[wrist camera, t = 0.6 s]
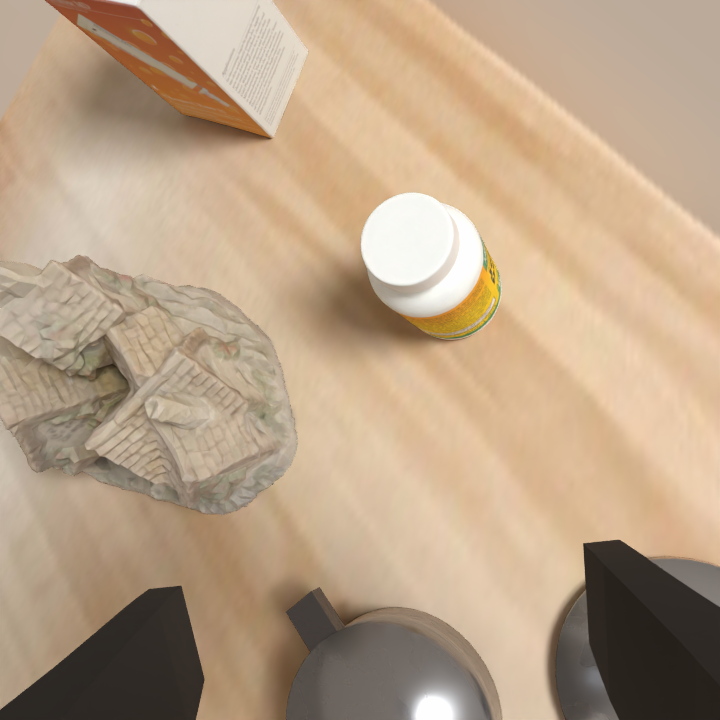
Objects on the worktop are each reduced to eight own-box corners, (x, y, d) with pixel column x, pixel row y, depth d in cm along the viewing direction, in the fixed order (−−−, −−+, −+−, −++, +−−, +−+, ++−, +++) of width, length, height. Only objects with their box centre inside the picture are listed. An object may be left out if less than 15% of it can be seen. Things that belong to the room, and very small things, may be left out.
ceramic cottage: (46, 368, 44) (-197, 338, 30) (231, 246, 40) (58, 146, 26) (124, 576, 40) (-112, 656, 26) (335, 461, 37) (198, 480, 22)
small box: (182, 116, 43) (20, -16, 31) (217, 32, 43) (69, -133, 31) (275, 142, 40) (135, 6, 28) (312, 51, 40) (189, -124, 28)
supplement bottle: (390, 290, 35) (320, 234, 27) (463, 228, 34) (416, 148, 26) (445, 362, 34) (391, 328, 25) (524, 299, 33) (497, 240, 24)
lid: (899, 729, 25) (960, 784, 21) (676, 868, 27) (690, 944, 23) (691, 507, 29) (706, 515, 25) (509, 643, 31) (494, 673, 26)
